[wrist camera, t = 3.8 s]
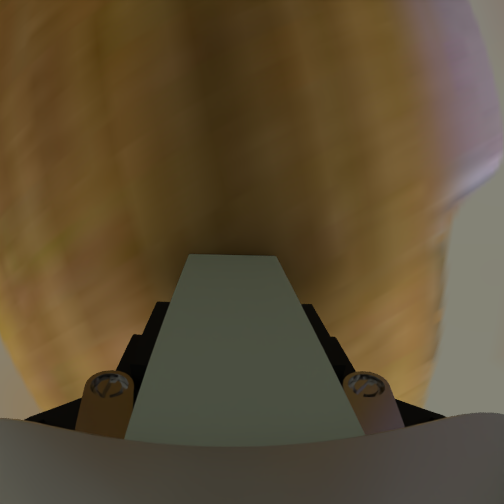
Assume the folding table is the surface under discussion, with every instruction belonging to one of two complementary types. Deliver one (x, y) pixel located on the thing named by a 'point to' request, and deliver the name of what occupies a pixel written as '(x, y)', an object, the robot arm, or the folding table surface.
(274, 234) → the folding table surface
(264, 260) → the peg
